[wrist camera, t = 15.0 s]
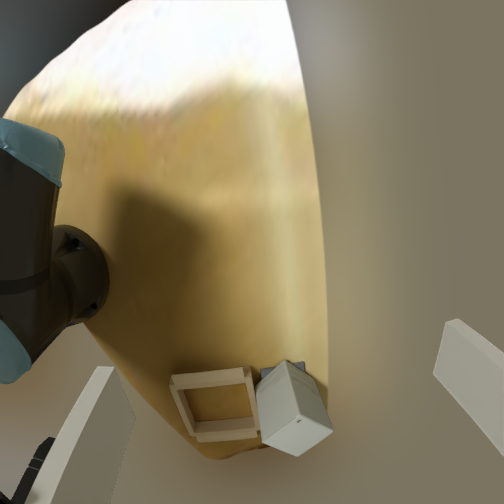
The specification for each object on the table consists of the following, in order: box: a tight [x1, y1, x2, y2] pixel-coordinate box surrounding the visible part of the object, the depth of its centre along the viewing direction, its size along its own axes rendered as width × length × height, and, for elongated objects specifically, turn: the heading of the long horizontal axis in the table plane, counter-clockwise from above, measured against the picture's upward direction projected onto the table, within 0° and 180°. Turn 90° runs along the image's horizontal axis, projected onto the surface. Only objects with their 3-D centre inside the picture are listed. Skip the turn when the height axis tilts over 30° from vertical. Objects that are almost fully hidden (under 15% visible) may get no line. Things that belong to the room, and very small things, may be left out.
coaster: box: [260, 362, 304, 379], centre depth 46 cm, size 7×7×1 cm
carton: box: [169, 366, 260, 443], centre depth 45 cm, size 13×17×3 cm
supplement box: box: [255, 360, 334, 457], centre depth 39 cm, size 7×7×13 cm
